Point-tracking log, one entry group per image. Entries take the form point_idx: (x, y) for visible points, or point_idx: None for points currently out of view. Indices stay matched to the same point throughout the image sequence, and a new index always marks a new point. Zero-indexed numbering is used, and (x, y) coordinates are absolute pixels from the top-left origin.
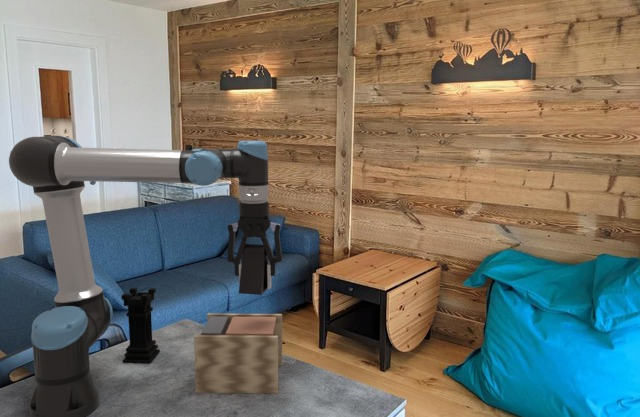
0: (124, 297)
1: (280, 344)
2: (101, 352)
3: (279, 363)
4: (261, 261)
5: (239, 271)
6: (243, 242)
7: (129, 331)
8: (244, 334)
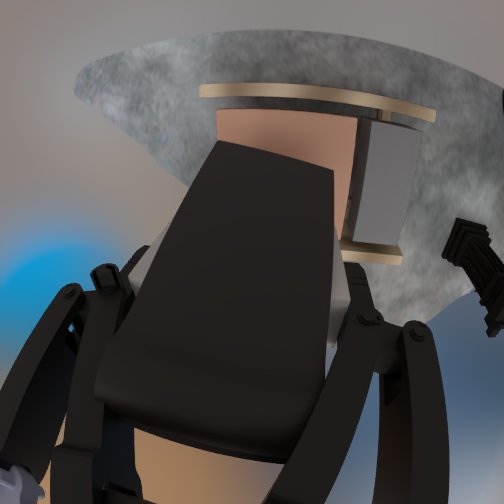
0: None
1: None
2: None
3: None
4: (160, 286)
5: (340, 269)
6: (305, 482)
7: (499, 259)
8: (300, 111)
